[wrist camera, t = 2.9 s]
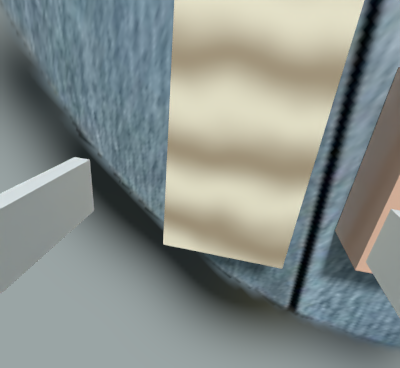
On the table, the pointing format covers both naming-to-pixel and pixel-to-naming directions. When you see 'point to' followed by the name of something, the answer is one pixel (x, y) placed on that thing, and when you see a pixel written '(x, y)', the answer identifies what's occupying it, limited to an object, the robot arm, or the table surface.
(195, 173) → the board
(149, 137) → the table surface
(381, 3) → the table surface
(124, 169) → the table surface
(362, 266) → the terracotta dish
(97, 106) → the table surface
